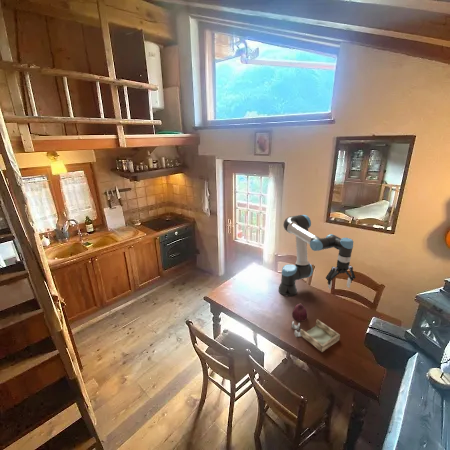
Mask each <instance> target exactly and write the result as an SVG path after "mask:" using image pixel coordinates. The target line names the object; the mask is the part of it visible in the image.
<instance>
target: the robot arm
mask: <svg viewBox="0 0 450 450" xmlns="http://www.w3.org/2000/svg"><path fill="white" fill-rule="evenodd" d="M311 227H312V221H311V218H310V217H309V215H307V214H298V215H293V216H287V218H285V220H283V228H284V231H286V232H288V233H289V234H293V235H294V236H295V244H296V245H295V247H296V248H295V249H296V261H295V264H288V263H287V264H285V265H284V266H282V269H281V279H280V281H281V282H280V284H279V286H278V292H279V294H281V295H282V296H284V297H295V296H296V295H297V292H298V290H297V289H298V288H297V286H296V281H299V280H302V279H307V278H310V277H312V275H313V274H314V273H313V272H314V268H313V266H312V264H311V263H310V261H308V245H309V247H310V249H311V250H312V251H314V252H319V251H323V250H327V249H328V250H329V249H333V248H334V249H335V250H338V254H337V255H338V256H337V260H336V261H337V262H336V267H335V266H331V269H330V271H329V272H328V273H327V275H326V276H325V279H326V281H327V284H328V286H327V288H328V289H329V290H331V289H332V285H333V280H334V279H335V277H337V276H338V275H339V274H346V275H347V280H346V281H347V282H346V287H347V288H348V289H350V288H351V284H352V283H353V282H352V281H354V279H355V280H356V275H355V273H354V268H353V266H352V265H350V262H351V258H352V253H353V252H352V251H353V248H354V240H353V239H351V238H348V237H339V236H338V235H334V234H332V233H330V234H328V235H326V237H321V238H320V237H319V236H317V235H315V234H314V233H312V232H311V231H309V229H310V228H311ZM348 271H349V272H348Z"/></svg>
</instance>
